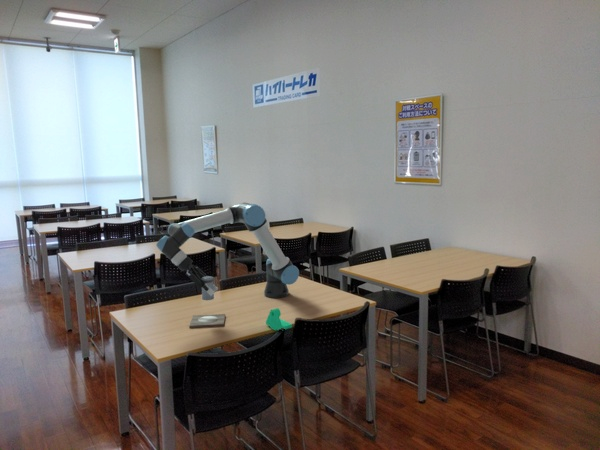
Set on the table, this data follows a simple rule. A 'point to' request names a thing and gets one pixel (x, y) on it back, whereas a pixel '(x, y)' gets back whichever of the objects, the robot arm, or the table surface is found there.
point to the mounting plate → (207, 321)
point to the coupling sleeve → (209, 282)
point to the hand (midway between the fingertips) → (214, 292)
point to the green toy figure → (277, 320)
